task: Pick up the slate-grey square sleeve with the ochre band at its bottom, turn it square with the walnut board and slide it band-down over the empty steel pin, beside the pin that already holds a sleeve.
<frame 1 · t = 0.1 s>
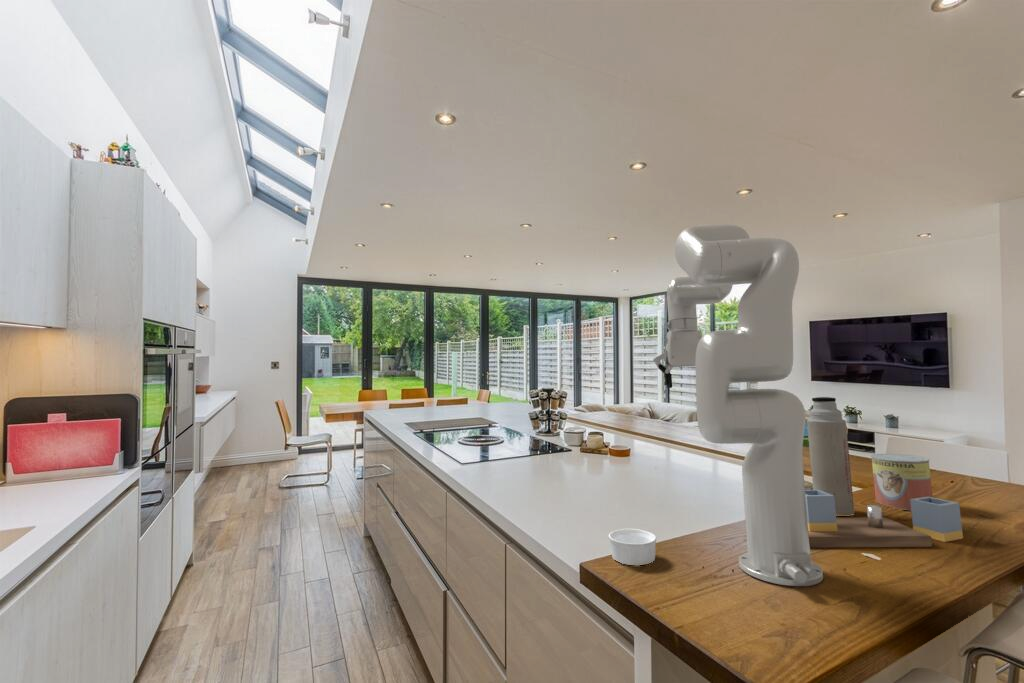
hand: (687, 387, 126), 31 cm above the worktop, tool pointing down, fingers open, 9 cm apart
seated sleeve: (815, 526, 94), point 2 cm above the worktop, touching pin board
pin board: (846, 536, 94), on the worktop
canned food: (904, 506, 114), on the worktop
thermos bottle: (834, 513, 110), on the worktop
ramekin: (633, 560, 86), on the worktop
slate sleeve: (937, 535, 93), on the worktop
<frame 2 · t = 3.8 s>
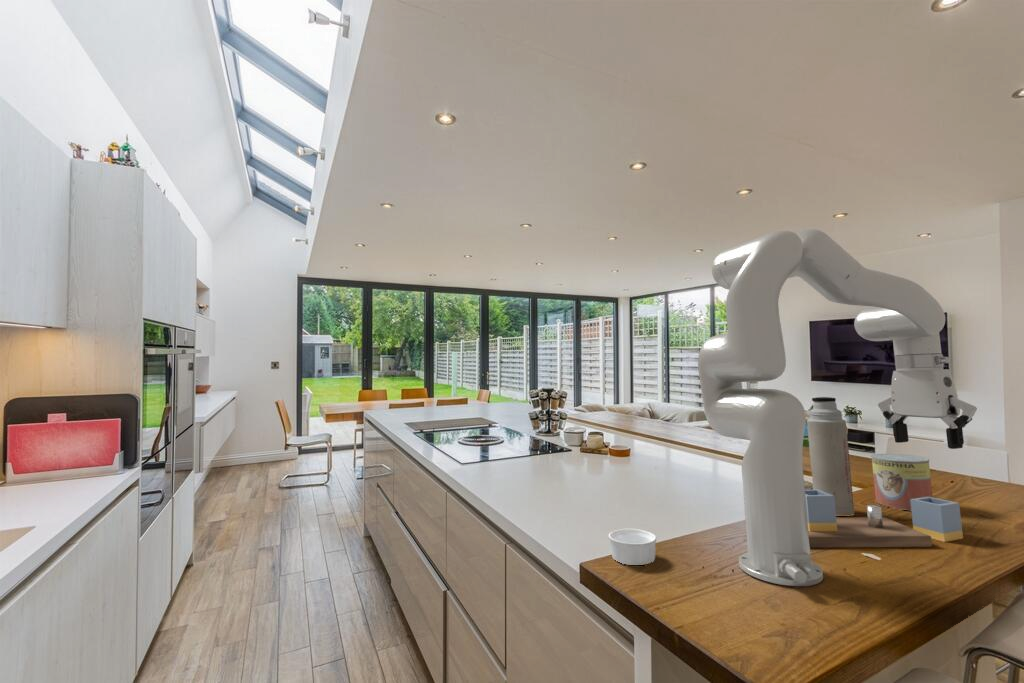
hand: (927, 445, 94), 18 cm above the worktop, tool pointing down, fingers open, 9 cm apart
nothing on the worktop moved.
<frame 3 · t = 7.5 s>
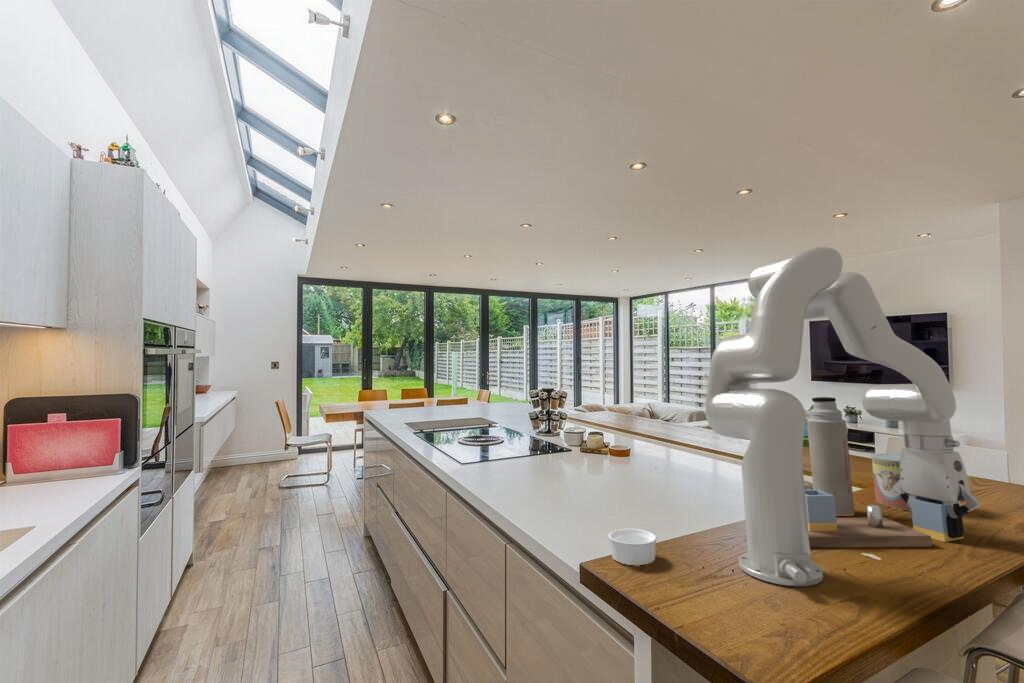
hand: (937, 531, 93), 1 cm above the worktop, tool pointing down, fingers closed on slate sleeve, 5 cm apart
slate sleeve: (937, 535, 93), on the worktop, touching gripper
everything else where it was.
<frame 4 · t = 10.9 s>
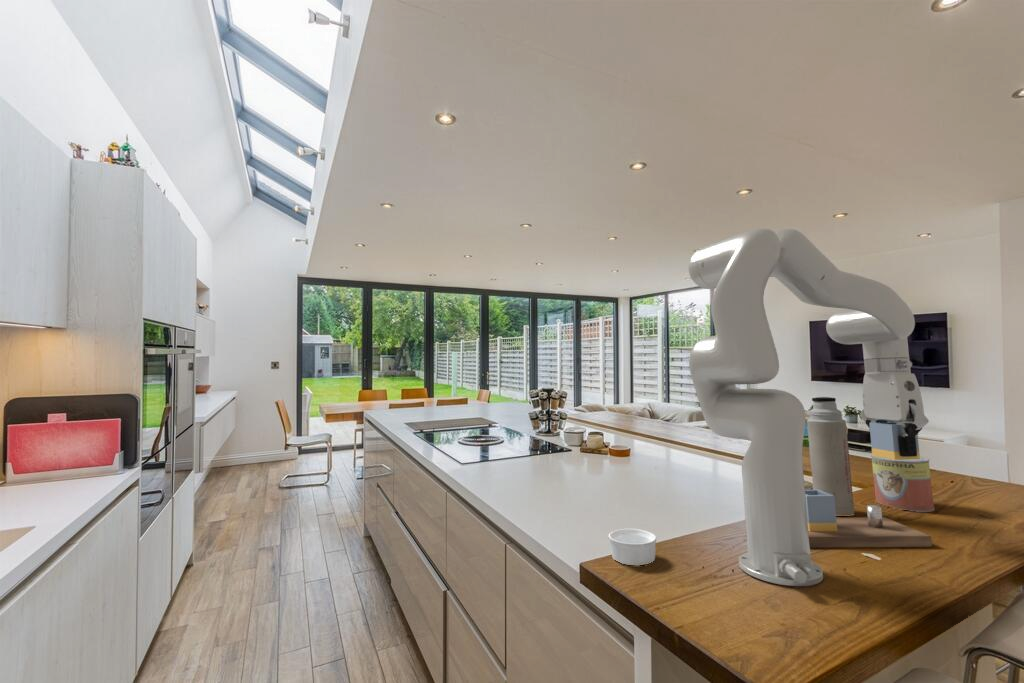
hand: (894, 452, 94), 17 cm above the worktop, tool pointing down, fingers closed on slate sleeve, 5 cm apart
slate sleeve: (895, 457, 94), point 16 cm above the worktop, touching gripper
everything else where it was.
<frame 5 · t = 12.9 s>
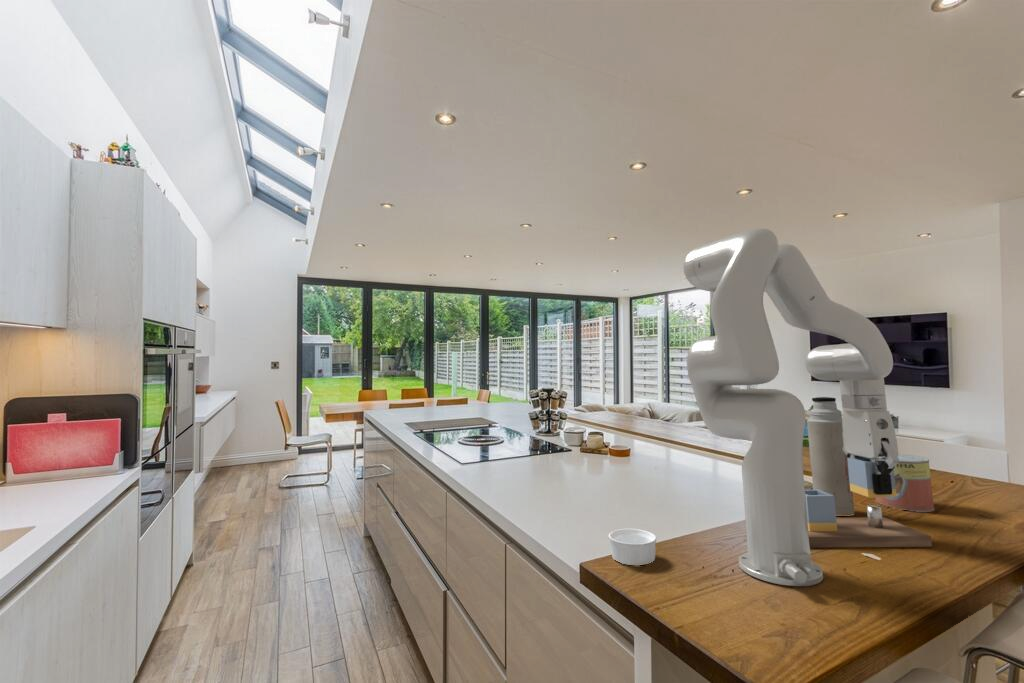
hand: (872, 489, 94), 10 cm above the worktop, tool pointing down, fingers closed on slate sleeve, 5 cm apart
slate sleeve: (872, 493, 94), point 9 cm above the worktop, touching gripper
everything else where it was.
when the fingers open (5 cm above the worktop, at t = 14.7 s): slate sleeve drops 2 cm, resting on pin board.
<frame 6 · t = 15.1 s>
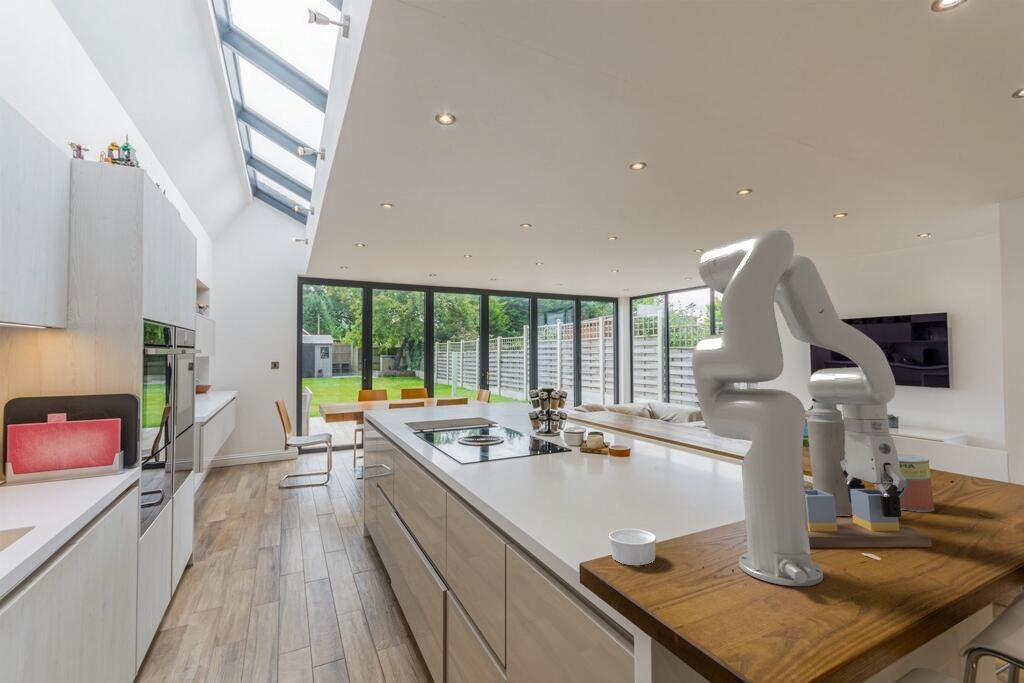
hand: (874, 509, 94), 5 cm above the worktop, tool pointing down, fingers open, 9 cm apart
slate sleeve: (875, 526, 93), point 2 cm above the worktop, touching pin board
everything else where it was.
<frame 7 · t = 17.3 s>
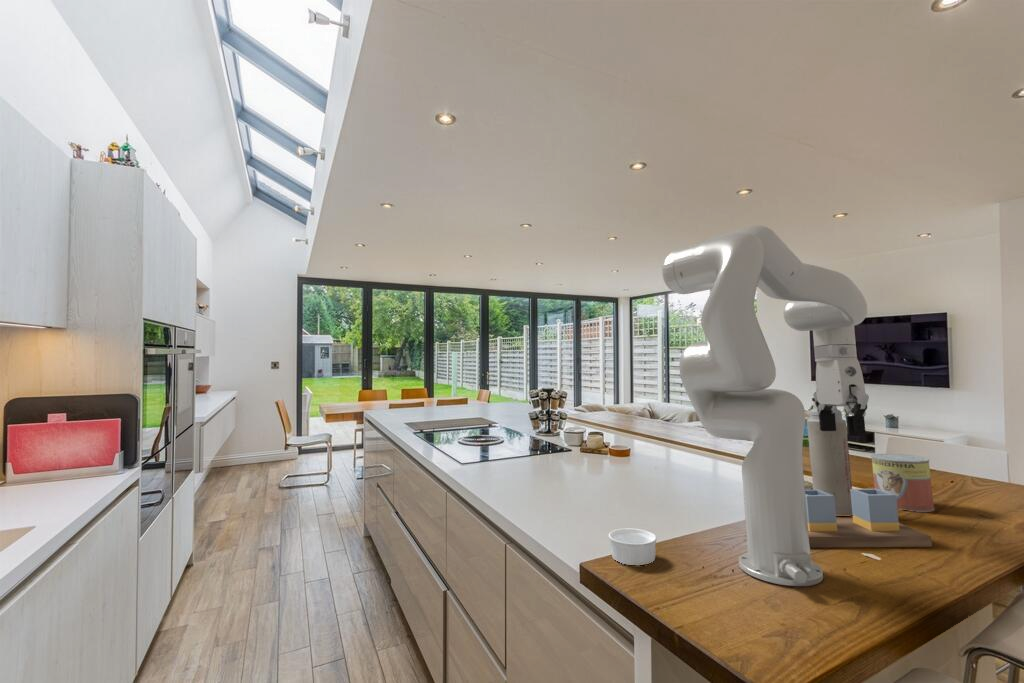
hand: (841, 433, 97), 21 cm above the worktop, tool pointing down, fingers open, 9 cm apart
nothing on the worktop moved.
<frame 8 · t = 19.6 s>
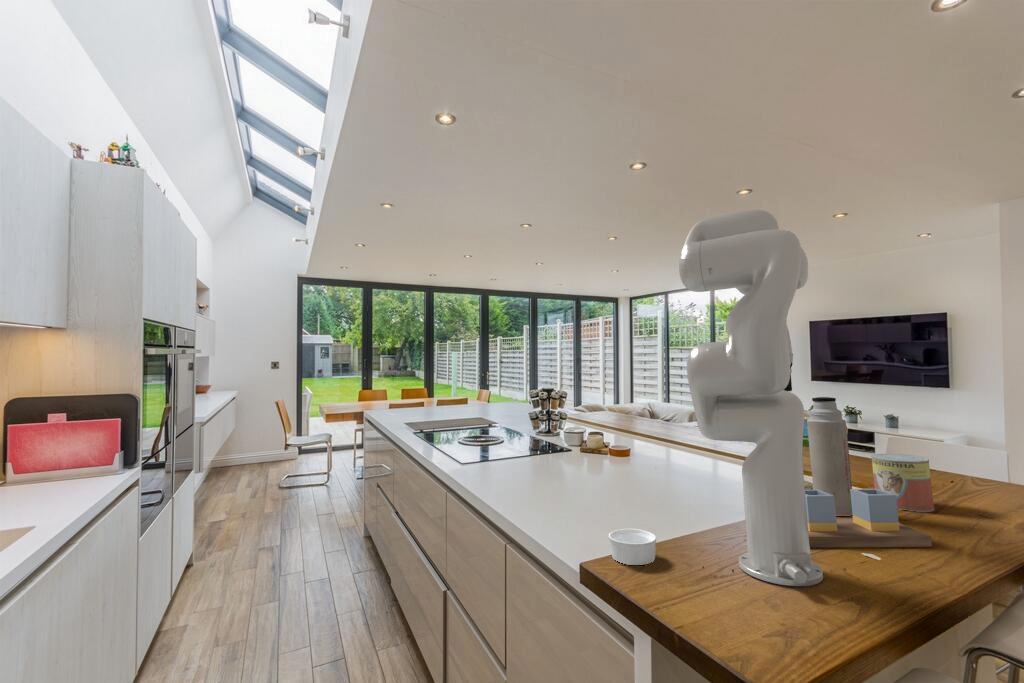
hand: (773, 390, 106), 30 cm above the worktop, tool pointing down, fingers open, 9 cm apart
nothing on the worktop moved.
at the end: slate sleeve 0.0 cm from the target spot on the pin board, point 2.0 cm above the pin board's base; slate sleeve tilted 0°; the gripper is holding nothing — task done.
